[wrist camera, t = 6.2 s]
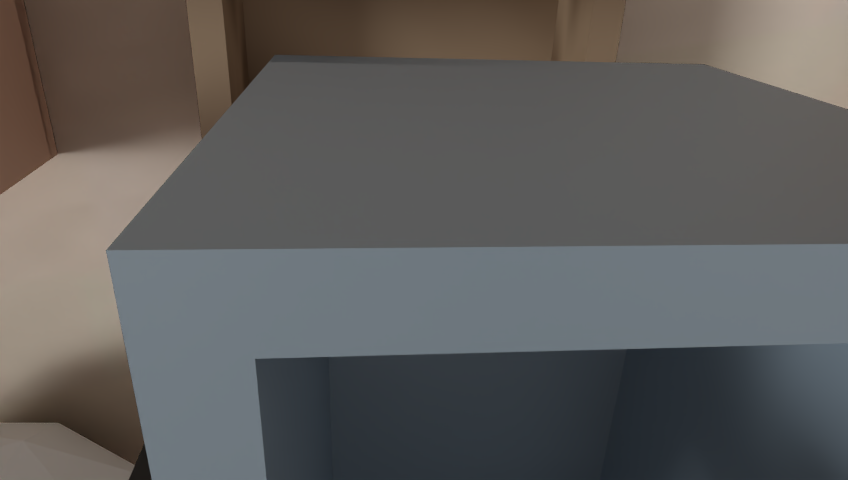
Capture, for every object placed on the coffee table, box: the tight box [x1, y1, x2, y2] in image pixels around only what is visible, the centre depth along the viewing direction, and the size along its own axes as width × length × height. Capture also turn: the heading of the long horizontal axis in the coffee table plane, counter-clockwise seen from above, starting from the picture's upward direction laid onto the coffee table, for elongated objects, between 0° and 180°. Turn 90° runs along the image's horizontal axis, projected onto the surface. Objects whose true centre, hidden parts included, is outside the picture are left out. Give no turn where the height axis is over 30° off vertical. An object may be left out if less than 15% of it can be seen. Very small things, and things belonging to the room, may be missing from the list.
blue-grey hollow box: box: [106, 55, 848, 480], centre depth 8 cm, size 9×6×6 cm, turn 178°
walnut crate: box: [186, 0, 626, 139], centre depth 22 cm, size 16×13×4 cm
